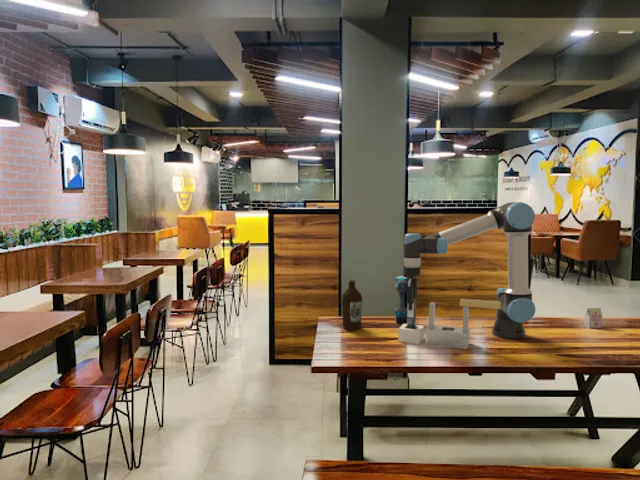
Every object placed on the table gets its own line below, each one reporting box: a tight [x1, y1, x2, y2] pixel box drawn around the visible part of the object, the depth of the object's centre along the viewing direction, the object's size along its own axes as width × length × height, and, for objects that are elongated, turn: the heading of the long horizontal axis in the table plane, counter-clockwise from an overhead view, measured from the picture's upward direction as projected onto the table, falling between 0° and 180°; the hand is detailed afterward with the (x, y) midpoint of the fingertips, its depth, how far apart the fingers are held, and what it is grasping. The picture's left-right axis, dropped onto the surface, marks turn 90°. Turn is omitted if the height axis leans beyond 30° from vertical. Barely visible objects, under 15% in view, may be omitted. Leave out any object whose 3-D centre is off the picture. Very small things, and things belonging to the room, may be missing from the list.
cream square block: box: [397, 323, 425, 345], centre depth 222 cm, size 10×10×6 cm
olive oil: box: [341, 279, 363, 331], centre depth 242 cm, size 11×11×25 cm
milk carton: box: [584, 307, 603, 329], centre depth 243 cm, size 4×7×10 cm, turn 94°
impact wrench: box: [393, 274, 408, 324], centre depth 256 cm, size 8×23×25 cm, turn 174°
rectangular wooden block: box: [459, 298, 501, 310], centre depth 208 cm, size 17×4×2 cm, turn 67°
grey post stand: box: [425, 301, 471, 350], centre depth 214 cm, size 18×10×18 cm, turn 67°
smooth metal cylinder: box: [406, 297, 417, 329], centre depth 221 cm, size 4×4×16 cm
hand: (411, 315), depth 221 cm, fingers closed on smooth metal cylinder, 4 cm apart
